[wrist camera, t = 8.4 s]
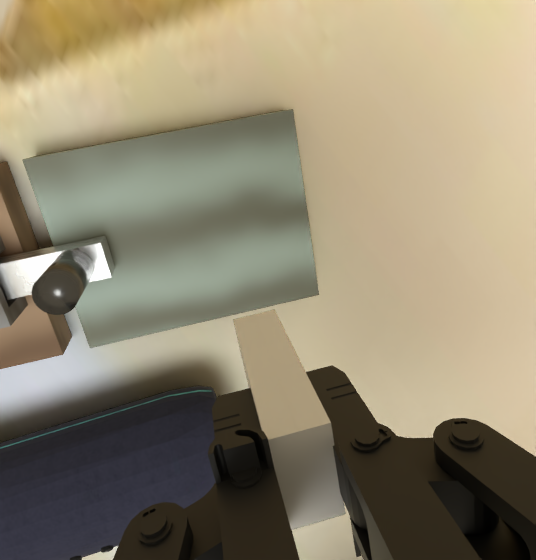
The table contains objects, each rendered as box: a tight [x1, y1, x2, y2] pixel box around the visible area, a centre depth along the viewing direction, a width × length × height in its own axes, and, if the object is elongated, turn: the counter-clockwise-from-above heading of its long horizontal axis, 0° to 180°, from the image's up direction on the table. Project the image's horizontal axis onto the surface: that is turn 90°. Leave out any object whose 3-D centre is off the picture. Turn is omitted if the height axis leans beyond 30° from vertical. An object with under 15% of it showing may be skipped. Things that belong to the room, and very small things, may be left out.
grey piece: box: [0, 236, 115, 315], centre depth 28 cm, size 2×10×7 cm, turn 99°
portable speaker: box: [0, 386, 217, 560], centre depth 36 cm, size 25×10×10 cm, turn 103°
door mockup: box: [0, 109, 319, 369], centre depth 31 cm, size 14×32×7 cm, turn 99°
